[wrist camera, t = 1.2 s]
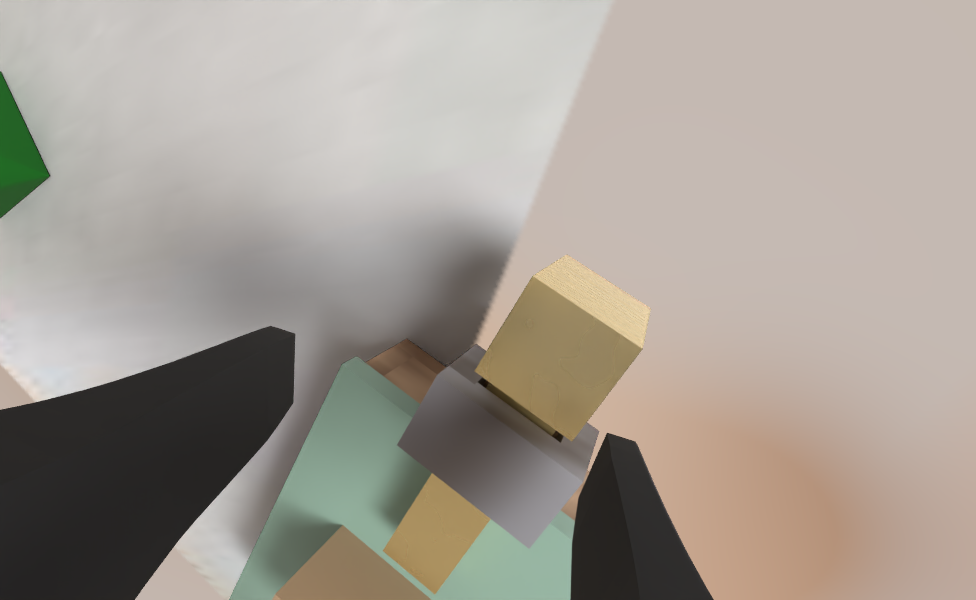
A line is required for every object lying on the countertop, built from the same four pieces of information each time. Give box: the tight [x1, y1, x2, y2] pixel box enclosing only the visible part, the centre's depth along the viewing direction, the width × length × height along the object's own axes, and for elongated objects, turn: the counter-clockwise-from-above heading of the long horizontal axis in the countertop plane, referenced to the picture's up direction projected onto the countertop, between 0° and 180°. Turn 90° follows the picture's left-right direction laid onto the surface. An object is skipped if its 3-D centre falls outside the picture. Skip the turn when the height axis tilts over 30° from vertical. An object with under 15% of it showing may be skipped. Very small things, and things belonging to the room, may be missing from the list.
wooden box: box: [365, 339, 599, 549], centre depth 22 cm, size 13×22×8 cm, turn 150°
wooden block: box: [383, 255, 651, 594], centre depth 16 cm, size 3×13×4 cm, turn 150°
